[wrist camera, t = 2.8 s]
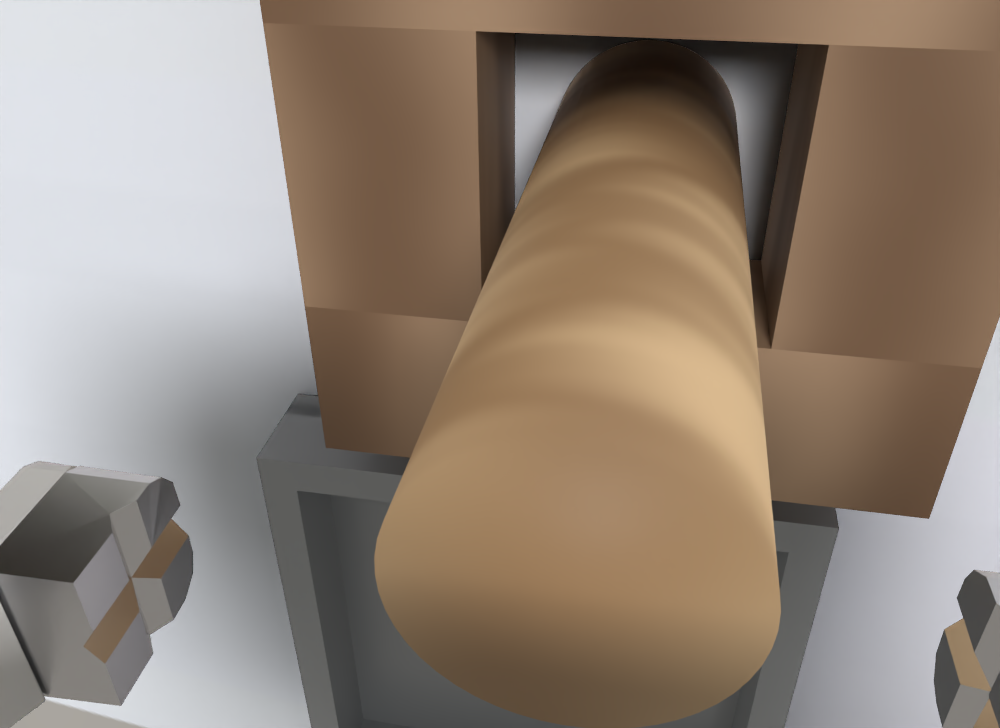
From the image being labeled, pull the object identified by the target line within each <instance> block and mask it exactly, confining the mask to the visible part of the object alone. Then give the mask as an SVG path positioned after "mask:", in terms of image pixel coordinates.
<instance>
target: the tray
mask: <svg viewBox="0 0 1000 728" xmlns="http://www.w3.org/2000/svg"><path fill="white" fill-rule="evenodd" d="M409 459H410V458H408V457H400V456H391V455H383V454H374V453H366V452H357V451H349V450H340V449H332V448H326V446H325V439H324V432H323V426H322V419H321V412H320V405H319V398H318V396H312V395H302V394H298V395H297V396H296V398H295V399H294V401H293V402H292V404H291V406H290V407H289V409H288V410H287V412H286V413H285V415H284V416H283V418H282V419H281V421H280V423H279V424H278V426H277V427H276V429H275V430H274V432H273V433H272V435H271V436H270V438H269V439H268V441H267V443H266V444H265V446H264V447H263V449H262V450H261V452H260V453H259V455H258V456H257V463H258V468H259V472H260V477H261V482H262V487H263V492H264V497H265V502H266V507H267V512H268V517H269V521H270V526H271V531H272V536H273V541H274V546H275V551H276V556H277V561H278V566H279V570H280V575H281V580H282V585H283V590H284V595H285V600H286V605H287V610H288V615H289V620H290V624H291V629H292V634H293V639H294V644H295V649H296V654H297V659H298V664H299V669H300V673H301V678H302V683H303V688H304V693H305V698H306V703H307V708H308V713H309V718H310V723H311V727H312V728H583V727H575V726H566V725H560V724H555V723H550V722H545V721H540V720H537V719H533V718H530V717H526V716H523V715H519V714H516V713H513V712H511V711H508V710H505V709H503V708H500V707H497V706H495V705H493V704H490V703H488V702H486V701H484V700H482V699H480V698H478V697H476V696H474V695H472V694H470V693H468V692H467V691H465V690H463V689H462V688H460V687H458V686H456V685H455V684H453V683H452V682H450V681H449V680H448V679H446V678H445V677H443V676H442V675H441V674H439V673H438V672H436V671H435V670H434V669H433V668H432V667H431V666H429V665H428V664H427V663H426V662H425V661H424V660H423V659H421V658H420V657H419V656H418V655H417V653H416V652H415V651H414V650H413V649H412V648H411V647H410V646H409V645H408V644H407V643H406V641H405V640H404V639H403V637H402V636H401V635H400V633H399V632H398V631H397V629H396V628H395V626H394V625H393V623H392V621H391V619H390V617H389V616H388V614H387V612H386V610H385V608H384V605H383V603H382V600H381V597H380V595H379V592H378V587H377V582H376V578H375V563H374V555H375V549H376V542H377V537H378V535H379V532H380V529H381V526H382V523H383V521H384V518H385V516H386V514H387V511H388V509H389V506H390V504H391V502H392V499H393V497H394V495H395V492H396V490H397V488H398V485H399V483H400V481H401V478H402V476H403V474H404V471H405V469H406V467H407V464H408V462H409ZM771 501H772V512H773V523H774V534H775V545H776V555H777V566H778V577H779V588H780V603H781V615H780V622H779V629H778V633H777V636H776V639H775V642H774V644H773V647H772V650H771V651H770V653H769V655H768V656H767V658H766V660H765V662H764V663H763V665H762V666H761V667H760V669H759V670H758V671H757V672H756V673H755V674H754V676H753V677H752V678H751V679H750V680H749V681H748V682H747V683H746V684H744V685H743V686H742V687H741V688H740V689H739V690H737V691H736V692H735V693H734V694H732V695H731V696H729V697H727V698H726V699H724V700H723V701H721V702H720V703H718V704H716V705H714V706H712V707H710V708H708V709H705V710H703V711H701V712H699V713H696V714H694V715H691V716H688V717H685V718H682V719H679V720H675V721H671V722H666V723H662V724H658V725H651V726H644V727H636V728H784V725H785V722H786V718H787V714H788V711H789V707H790V703H791V700H792V696H793V693H794V689H795V685H796V682H797V678H798V674H799V671H800V667H801V664H802V660H803V656H804V653H805V649H806V645H807V642H808V638H809V635H810V631H811V627H812V624H813V620H814V616H815V613H816V609H817V606H818V602H819V598H820V595H821V591H822V587H823V584H824V580H825V577H826V573H827V569H828V566H829V562H830V559H831V555H832V551H833V548H834V544H835V540H836V537H837V533H838V530H839V527H838V521H837V515H836V510H835V508H834V507H825V506H817V505H808V504H800V503H791V502H783V501H774V500H771Z"/></svg>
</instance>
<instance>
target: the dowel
mask: <svg viewBox="0 0 1000 728" xmlns="http://www.w3.org/2000/svg"><path fill="white" fill-rule="evenodd" d="M374 563H375V578H376V582H377V587H378V592H379V595H380V597H381V600H382V603H383V605H384V608H385V610H386V612H387V614H388V616H389V617H390V619H391V621H392V623H393V625H394V626H395V628H396V629H397V631H398V632H399V633H400V635H401V636H402V637H403V639H404V640H405V641H406V643H407V644H408V645H409V646H410V647H411V648H412V649H413V650H414V651H415V652H416V653H417V655H418V656H419V657H420V658H421V659H423V660H424V661H425V662H426V663H427V664H428V665H429V666H431V667H432V668H433V669H434V670H435V671H436V672H438V673H439V674H441V675H442V676H443V677H445V678H446V679H448V680H449V681H450V682H452V683H453V684H455V685H456V686H458V687H460V688H462V689H463V690H465V691H467V692H468V693H470V694H472V695H474V696H476V697H478V698H480V699H482V700H484V701H486V702H488V703H490V704H493V705H495V706H497V707H500V708H503V709H505V710H508V711H511V712H513V713H516V714H519V715H523V716H526V717H530V718H533V719H537V720H540V721H545V722H550V723H555V724H560V725H566V726H575V727H583V728H636V727H644V726H651V725H658V724H662V723H666V722H671V721H675V720H679V719H682V718H685V717H688V716H691V715H694V714H696V713H699V712H701V711H703V710H705V709H708V708H710V707H712V706H714V705H716V704H718V703H720V702H721V701H723V700H724V699H726V698H727V697H729V696H731V695H732V694H734V693H735V692H736V691H737V690H739V689H740V688H741V687H742V686H743V685H744V684H746V683H747V682H748V681H749V680H750V679H751V678H752V677H753V676H754V674H755V673H756V672H757V671H758V670H759V669H760V667H761V666H762V665H763V663H764V662H765V660H766V658H767V656H768V655H769V653H770V651H771V650H772V647H773V644H774V642H775V639H776V636H777V633H778V629H779V622H780V615H781V603H780V588H779V577H778V566H777V555H776V545H775V534H774V523H773V512H772V501H771V491H770V480H769V469H768V458H767V447H766V436H765V426H764V415H763V404H762V393H761V382H760V372H759V361H758V350H757V339H756V328H755V317H754V307H753V296H752V285H751V274H750V263H749V253H748V242H747V231H746V220H745V209H744V198H743V188H742V177H741V166H740V155H739V144H738V134H737V123H736V112H735V108H734V103H733V100H732V97H731V94H730V91H729V89H728V87H727V85H726V84H725V82H724V80H723V78H722V77H721V76H720V74H719V73H718V72H717V70H716V69H715V68H714V67H713V66H712V65H711V64H710V63H709V62H708V61H706V60H705V59H704V58H703V57H701V56H700V55H699V54H697V53H695V52H693V51H692V50H690V49H688V48H685V47H683V46H680V45H678V44H674V43H670V42H666V41H658V40H639V41H633V42H628V43H624V44H621V45H618V46H615V47H613V48H611V49H608V50H606V51H604V52H603V53H601V54H600V55H598V56H596V57H595V58H594V59H592V60H591V61H590V62H589V63H587V64H586V65H585V66H584V67H583V68H582V69H581V70H580V72H579V73H578V74H577V75H576V76H575V78H574V79H573V81H572V82H571V84H570V85H569V87H568V89H567V91H566V93H565V95H564V97H563V100H562V102H561V105H560V107H559V109H558V112H557V114H556V116H555V119H554V121H553V123H552V126H551V128H550V130H549V133H548V135H547V137H546V140H545V142H544V144H543V147H542V149H541V152H540V154H539V156H538V159H537V161H536V163H535V166H534V168H533V170H532V173H531V175H530V177H529V180H528V182H527V184H526V187H525V189H524V192H523V194H522V196H521V199H520V201H519V203H518V206H517V208H516V210H515V213H514V215H513V217H512V220H511V222H510V224H509V227H508V229H507V231H506V234H505V236H504V239H503V241H502V243H501V246H500V248H499V250H498V253H497V255H496V257H495V260H494V262H493V264H492V267H491V269H490V271H489V274H488V276H487V278H486V281H485V283H484V286H483V288H482V290H481V293H480V295H479V297H478V300H477V302H476V304H475V307H474V309H473V311H472V314H471V316H470V318H469V321H468V323H467V325H466V328H465V330H464V333H463V335H462V337H461V340H460V342H459V344H458V347H457V349H456V351H455V354H454V356H453V358H452V361H451V363H450V365H449V368H448V370H447V373H446V375H445V377H444V380H443V382H442V384H441V387H440V389H439V391H438V394H437V396H436V398H435V401H434V403H433V405H432V408H431V410H430V412H429V415H428V417H427V420H426V422H425V424H424V427H423V429H422V431H421V434H420V436H419V438H418V441H417V443H416V445H415V448H414V450H413V452H412V455H411V457H410V459H409V462H408V464H407V467H406V469H405V471H404V474H403V476H402V478H401V481H400V483H399V485H398V488H397V490H396V492H395V495H394V497H393V499H392V502H391V504H390V506H389V509H388V511H387V514H386V516H385V518H384V521H383V523H382V526H381V529H380V532H379V535H378V537H377V542H376V549H375V555H374Z"/></svg>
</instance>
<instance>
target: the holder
mask: <svg viewBox="0 0 1000 728" xmlns="http://www.w3.org/2000/svg"><path fill="white" fill-rule="evenodd" d="M260 5H261V12H262V19H263V26H264V32H265V39H266V46H267V53H268V59H269V66H270V73H271V80H272V87H273V93H274V100H275V107H276V114H277V120H278V127H279V134H280V141H281V148H282V154H283V161H284V168H285V175H286V181H287V188H288V195H289V202H290V209H291V215H292V222H293V229H294V236H295V242H296V249H297V256H298V263H299V270H300V276H301V283H302V290H303V297H304V303H305V310H306V317H307V324H308V331H309V337H310V344H311V351H312V358H313V365H314V371H315V378H316V385H317V392H318V398H319V405H320V412H321V419H322V426H323V432H324V439H325V446H326V448H332V449H340V450H349V451H357V452H366V453H374V454H383V455H391V456H400V457H408V458H410V457H411V455H412V452H413V450H414V448H415V445H416V443H417V441H418V438H419V436H420V434H421V431H422V429H423V427H424V424H425V422H426V420H427V417H428V415H429V412H430V410H431V408H432V405H433V403H434V401H435V398H436V396H437V394H438V391H439V389H440V387H441V384H442V382H443V380H444V377H445V375H446V373H447V370H448V368H449V365H450V363H451V361H452V358H453V356H454V354H455V351H456V349H457V347H458V344H459V342H460V340H461V337H462V335H463V333H464V330H465V328H466V325H467V323H468V321H469V318H470V316H471V314H472V311H473V309H474V307H475V304H476V302H477V300H478V297H479V295H480V293H481V290H482V288H483V286H484V283H485V281H486V278H487V276H488V274H489V271H490V269H491V267H492V264H493V262H494V260H495V257H496V255H497V253H498V250H499V248H500V246H501V243H502V241H503V239H504V236H505V234H506V231H507V229H508V227H509V224H510V222H511V220H512V217H513V215H514V213H515V33H536V34H562V35H588V36H614V37H640V38H666V39H692V40H718V41H744V42H770V43H796V44H798V48H797V53H796V59H795V65H794V71H793V77H792V83H791V88H790V94H789V100H788V106H787V112H786V118H785V123H784V129H783V135H782V141H781V147H780V153H779V158H778V164H777V170H776V176H775V182H774V188H773V193H772V199H771V205H770V211H769V217H768V223H767V228H766V234H765V240H764V246H763V252H762V258H761V260H749V263H750V274H751V285H752V296H753V307H754V317H755V328H756V339H757V350H758V361H759V372H760V382H761V393H762V404H763V415H764V426H765V436H766V447H767V458H768V469H769V480H770V491H771V500H774V501H783V502H791V503H800V504H808V505H817V506H825V507H834V508H842V509H851V510H859V511H868V512H876V513H885V514H893V515H902V516H910V517H919V518H927V519H929V517H930V514H931V511H932V509H933V506H934V503H935V500H936V497H937V494H938V491H939V489H940V486H941V483H942V480H943V477H944V474H945V471H946V469H947V466H948V463H949V460H950V457H951V454H952V451H953V449H954V446H955V443H956V440H957V437H958V434H959V431H960V428H961V426H962V423H963V420H964V417H965V414H966V411H967V408H968V406H969V403H970V400H971V397H972V394H973V391H974V388H975V386H976V383H977V380H978V377H979V374H980V371H981V368H982V366H983V363H984V360H985V357H986V354H987V351H988V348H989V345H990V343H991V340H992V337H993V334H994V331H995V328H996V325H997V323H998V320H999V317H1000V0H260Z"/></svg>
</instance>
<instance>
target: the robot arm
mask: <svg viewBox="0 0 1000 728" xmlns="http://www.w3.org/2000/svg"><path fill="white" fill-rule="evenodd" d="M179 506H180V503H179V500H178V497H177V494H176V491H175V488H174V485H173V482H171V481H169V480H166V479H164V478H162V477H155V476H148V475H141V474H134V473H127V472H120V471H113V470H105V469H98V468H91V467H84V466H78V467H76V466H70V465H63V464H56V463H49V462H42V461H37V462H34V463H32V464H29V465H26V466H24V467H22V468H21V469H20V470H19V471H18V472H17V474H16V475H15V476H14V477H13V478H12V479H11V480H10V481H9V482H8V483H7V484H6V485H5V486H4V487H3V488H2V489H1V490H0V728H10V727H11V726H13V725H14V724H15V723H17V722H18V721H19V720H21V719H22V718H23V717H24V716H26V715H27V714H29V713H30V712H31V711H32V710H34V709H35V708H37V707H38V706H39V705H41V704H42V703H43V702H45V697H44V696H47V697H55V698H63V699H71V700H79V701H87V702H95V703H103V704H111V705H119V706H121V705H122V704H123V702H124V700H125V699H126V697H127V695H128V694H129V692H130V691H131V689H132V687H133V686H134V684H135V682H136V681H137V679H138V677H139V676H140V674H141V673H142V671H143V669H144V668H145V666H146V664H147V663H148V661H149V659H150V658H151V656H152V655H153V649H152V644H151V638H150V634H152V633H153V632H155V631H157V630H158V629H160V628H161V627H163V626H164V625H166V624H168V623H169V622H171V621H172V620H174V618H175V616H176V615H177V613H178V611H179V609H180V608H181V606H182V604H183V602H184V601H185V599H186V596H187V592H188V588H189V585H190V581H191V578H192V574H193V551H192V547H191V543H190V539H189V536H188V535H187V534H186V533H185V532H184V531H183V530H182V529H181V528H180V527H179V526H178V525H177V524H176V523H175V522H174V521H173V520H172V519H171V518H172V517H173V515H174V514H175V512H176V511H177V509H178V508H179ZM957 599H958V603H959V606H960V609H961V612H962V615H963V619H961V620H959V621H958V622H956V623H954V624H953V625H951V626H949V627H948V628H946V629H944V632H943V635H942V638H941V641H940V644H939V647H938V650H937V653H936V662H935V674H934V685H935V694H936V703H937V707H938V711H939V715H940V719H941V723H942V727H943V728H1000V573H999V572H990V571H980V570H973V571H972V572H971V573H970V574H969V575H968V576H967V577H966V578H965V580H964V582H963V585H962V587H961V589H960V592H959V594H958V597H957Z"/></svg>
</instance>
